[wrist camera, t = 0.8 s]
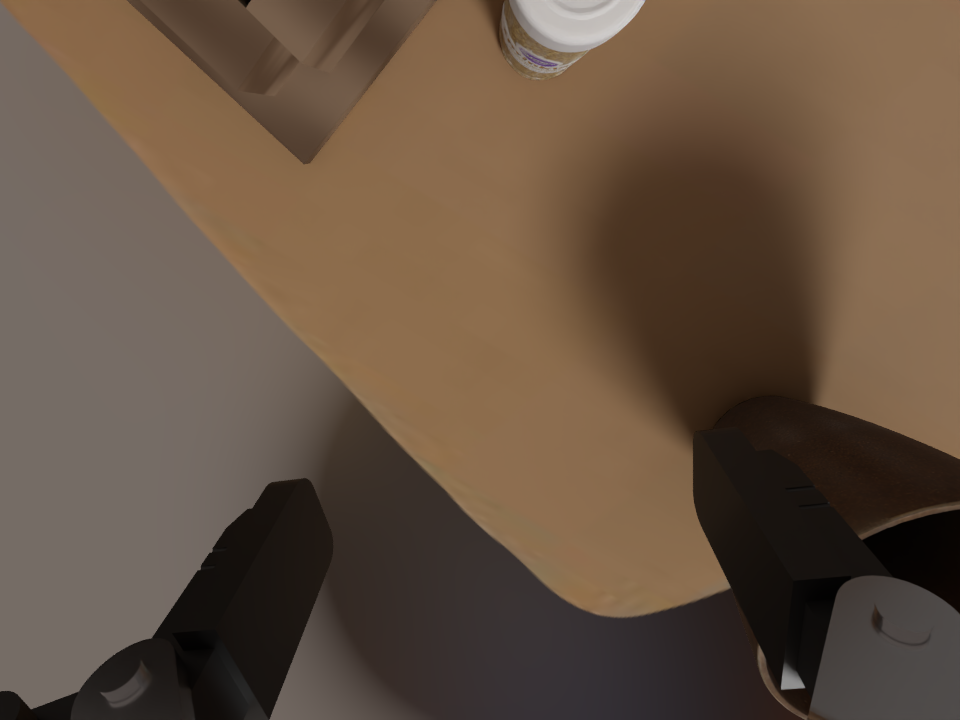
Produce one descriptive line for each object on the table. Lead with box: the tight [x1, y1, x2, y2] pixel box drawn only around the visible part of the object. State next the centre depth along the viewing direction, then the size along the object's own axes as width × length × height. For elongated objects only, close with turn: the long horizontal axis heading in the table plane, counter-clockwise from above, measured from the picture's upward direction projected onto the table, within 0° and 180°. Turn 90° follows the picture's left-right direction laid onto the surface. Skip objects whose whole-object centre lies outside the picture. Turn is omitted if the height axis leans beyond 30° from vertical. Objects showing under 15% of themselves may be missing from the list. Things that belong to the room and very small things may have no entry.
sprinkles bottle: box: [499, 0, 645, 80], centre depth 21 cm, size 5×5×14 cm
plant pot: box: [714, 396, 960, 720], centre depth 30 cm, size 15×15×16 cm
